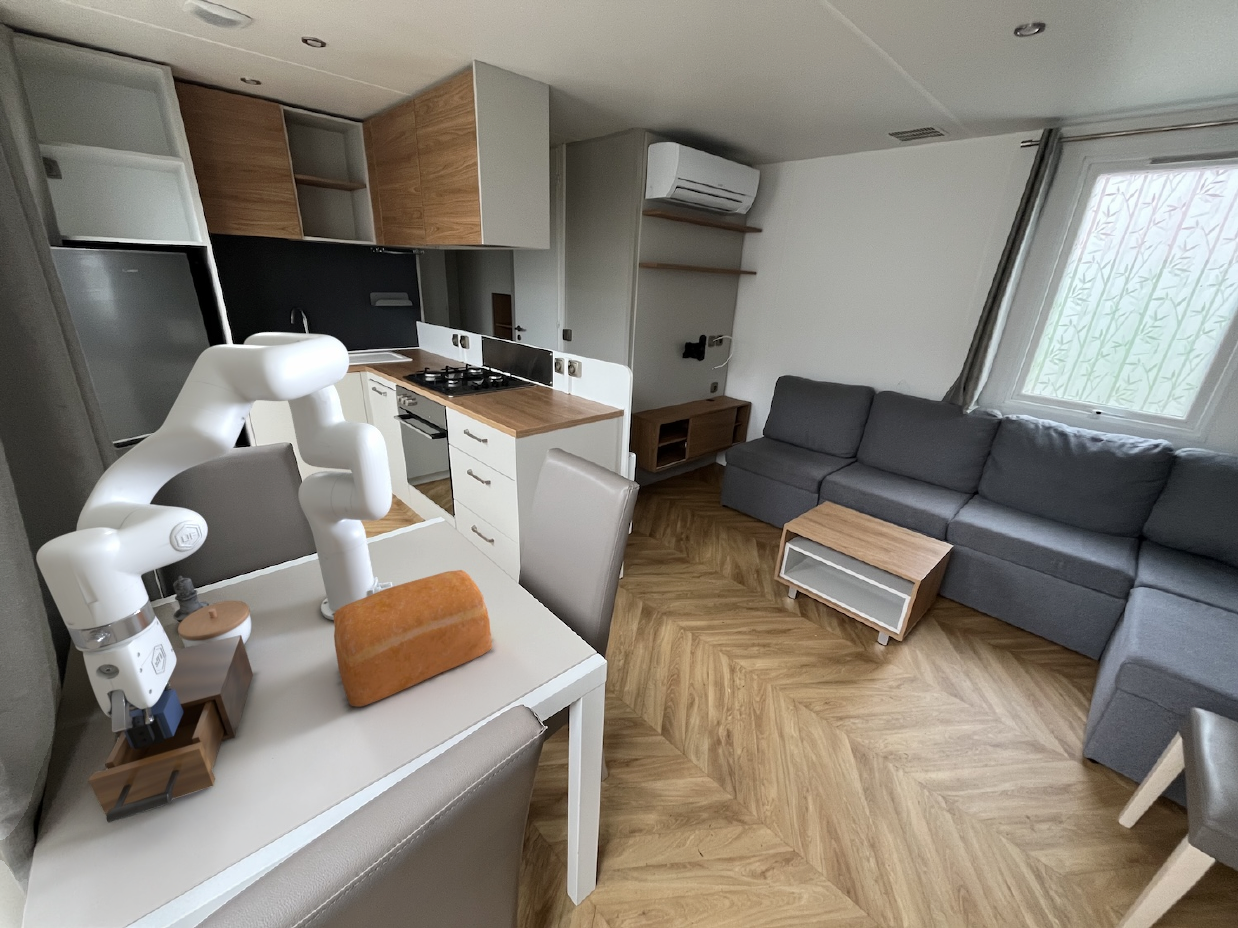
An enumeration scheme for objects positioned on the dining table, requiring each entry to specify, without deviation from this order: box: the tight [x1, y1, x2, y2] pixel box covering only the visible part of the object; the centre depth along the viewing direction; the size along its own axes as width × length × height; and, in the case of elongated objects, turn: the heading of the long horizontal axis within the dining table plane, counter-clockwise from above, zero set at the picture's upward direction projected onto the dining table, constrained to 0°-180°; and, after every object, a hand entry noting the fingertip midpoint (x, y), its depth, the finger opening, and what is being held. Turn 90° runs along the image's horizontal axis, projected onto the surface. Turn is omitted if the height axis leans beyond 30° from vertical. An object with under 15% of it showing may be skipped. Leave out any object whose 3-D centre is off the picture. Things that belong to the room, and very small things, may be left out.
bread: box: [333, 569, 493, 707], centre depth 92 cm, size 14×26×16 cm, turn 127°
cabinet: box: [111, 635, 254, 743], centre depth 80 cm, size 15×13×9 cm
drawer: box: [87, 700, 225, 824], centre depth 70 cm, size 18×11×7 cm, turn 25°
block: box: [123, 689, 183, 748], centre depth 68 cm, size 4×4×4 cm
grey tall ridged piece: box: [172, 575, 210, 624], centre depth 101 cm, size 6×6×12 cm
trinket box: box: [177, 600, 253, 648], centre depth 95 cm, size 11×11×9 cm
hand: (157, 727), depth 69 cm, fingers closed on block, 4 cm apart
